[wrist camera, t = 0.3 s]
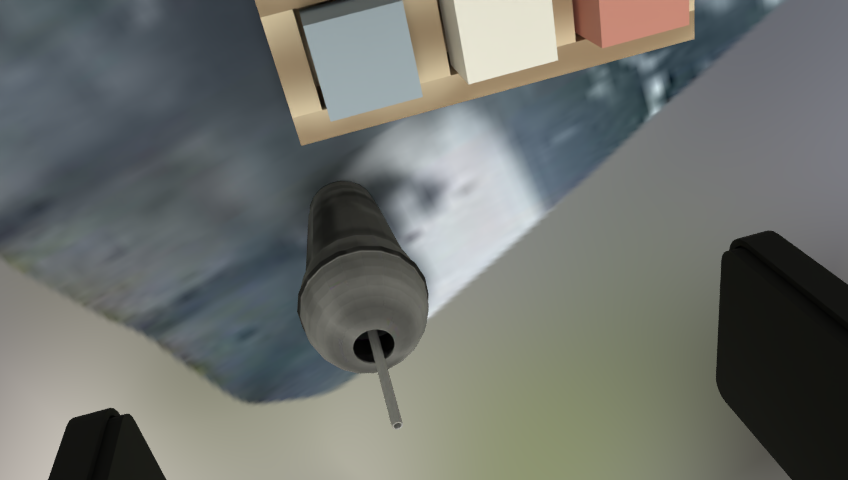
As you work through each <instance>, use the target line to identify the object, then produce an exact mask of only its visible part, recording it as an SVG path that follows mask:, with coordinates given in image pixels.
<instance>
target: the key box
mask: <svg viewBox="0 0 848 480" xmlns="http://www.w3.org/2000/svg"><path fill="white" fill-rule="evenodd" d="M332 1H336V0H255V2H256V6H257V9H258V12H259V15H260V18H261V21H262V24H263V27H264V31H265V34H266V37H267V40H268V43H269V46H270V49H271V52H272V56H273V59H274V62H275V65H276V68H277V71H278V74H279V77H280V81H281V84H282V87H283V90H284V93H285V96H286V99H287V102H288V105H289V109H290V112H291V115H292V118H293V121H294V124H295V127H296V130H297V134H298V137H299V140H300V143H301V146H302V145H306V144H309V143H313V142H317V141H321V140H324V139H328V138H332V137H335V136H339V135H343V134H346V133H350V132H354V131H357V130H361V129H365V128H368V127H372V126H376V125H379V124H383V123H387V122H390V121H394V120H398V119H401V118H405V117H409V116H412V115H416V114H420V113H424V112H427V111H431V110H435V109H438V108H442V107H446V106H449V105H453V104H457V103H460V102H464V101H468V100H471V99H475V98H479V97H482V96H486V95H490V94H493V93H497V92H501V91H504V90H508V89H512V88H515V87H519V86H523V85H527V84H530V83H534V82H538V81H541V80H545V79H549V78H552V77H556V76H560V75H563V74H567V73H571V72H574V71H578V70H582V69H585V68H589V67H593V66H596V65H600V64H604V63H607V62H611V61H615V60H618V59H622V58H626V57H630V56H633V55H637V54H641V53H644V52H648V51H652V50H655V49H659V48H663V47H666V46H670V45H674V44H677V43H681V42H685V41H688V40H692V39H694V0H689V25H687V26H683V27H680V28H676V29H672V30H669V31H665V32H661V33H657V34H654V35H650V36H646V37H643V38H639V39H635V40H632V41H628V42H624V43H620V44H617V45H613V46H609V47H606V48H601V47H599V46H597V45H596V44H594V43H592V42H590V41H589V40H587V39H585V38H584V37H582V36H580V35H578V34H577V33H575V28H574V17H573V5H572V0H552V6H553V16H554V25H555V35H556V45H557V54H558V60H557V61H554V62H550V63H546V64H543V65H539V66H535V67H532V68H528V69H524V70H520V71H517V72H513V73H509V74H506V75H502V76H498V77H495V78H491V79H487V80H483V81H480V82H476V83H472V84H469V85H468V83H467V82H466V81H465V80H464V79H463V78H462V77H461V76H460V74H459V73H458V72H457V71H456V70H455V69H454V68H453V66H452V65H451V63H450V58H449V53H448V47H447V42H446V37H445V31H444V26H443V20H442V15H441V10H440V4H439V0H402V1H403V5H404V10H405V14H406V19H407V24H408V29H409V33H410V38H411V43H412V47H413V52H414V57H415V61H416V66H417V71H418V76H419V80H420V85H421V90H422V94H423V97H421V98H417V99H413V100H409V101H406V102H402V103H398V104H395V105H391V106H387V107H383V108H380V109H376V110H372V111H369V112H365V113H361V114H358V115H354V116H350V117H346V118H343V119H339V120H335V121H332V122H331V121H330V118H329V114H328V111H327V107H326V104H325V101H324V97H323V94H322V90H321V87H320V83H319V80H318V76H317V73H316V70H315V66H314V63H313V59H312V56H311V52H310V49H309V45H308V42H307V39H306V35H305V32H304V28H303V25H302V21H301V17H300V12H299V10H301V9H304V8H308V7H312V6H316V5H320V4H324V3H328V2H332Z"/></svg>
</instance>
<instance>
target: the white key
mask: <svg viewBox="0 0 848 480" xmlns="http://www.w3.org/2000/svg"><path fill="white" fill-rule="evenodd" d="M439 4H440V10H441V15H442V20H443V26H444V31H445V37H446V42H447V47H448V53H449V58H450V63H451V65H452V66H453V68H454V69H455V70H456V71H457V72H458V73H459V74H460V76H461V77H462V78H463V79H464V80H465V81H466V82H467V83H468V85H469V84H472V83H476V82H480V81H483V80H487V79H491V78H495V77H498V76H502V75H506V74H509V73H513V72H517V71H520V70H524V69H528V68H532V67H535V66H539V65H543V64H546V63H550V62H554V61H557V60H558V54H557V45H556V35H555V25H554V16H553V6H552V0H439Z"/></svg>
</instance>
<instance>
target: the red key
mask: <svg viewBox="0 0 848 480" xmlns="http://www.w3.org/2000/svg"><path fill="white" fill-rule="evenodd" d="M572 5H573V17H574V28H575V33H577V34H578V35H580V36H582V37H584V38H585V39H587V40H589V41H590V42H592V43H594V44H596V45H597V46H599V47H601V48H606V47H609V46H613V45H617V44H620V43H624V42H628V41H632V40H635V39H639V38H643V37H646V36H650V35H654V34H657V33H661V32H665V31H669V30H672V29H676V28H680V27H683V26H687V25H689V0H572Z"/></svg>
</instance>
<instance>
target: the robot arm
mask: <svg viewBox="0 0 848 480" xmlns="http://www.w3.org/2000/svg"><path fill="white" fill-rule="evenodd" d="M716 382H717V386H718V389H719V392H720V394H721V396H722V397H723V399H724V400H725V402H726V403H727V404H728V405H729V406H730V408H731V409H732V410H733V411H734V412H735V414H737V416H738V417H739V418H740V419H741V421H742V422H743V423H744V424H745V425H746V426H747V428H748V429H749V430H750V431H751V432H752V433H753V434H754V436H755V437H756V438H757V439H758V440H759V442H760V443H761V444H762V445H763V446H764V448H765V449H766V450H767V451H768V452H769V453H770V455H771V456H772V457H773V458H774V459H775V460H776V461H777V463H778V464H779V465H780V466H781V467H782V469H783V470H784V471H785V472H786V473H787V475H788V476H789V477H790V478H791V479H792V480H848V284H846V283H845V282H843V281H842V280H841V279H839V278H838V277H837V276H835V275H834V274H832V273H831V272H830V271H828V270H827V269H826V268H824V267H823V266H822V265H820V264H819V263H817V262H816V261H814V260H813V259H812V258H811V257H809V256H808V255H806V254H805V253H804V252H802V251H801V250H799V249H798V248H797V247H795V246H794V245H793V244H791V243H790V242H788V241H787V240H786V239H784V238H783V237H782V236H780V235H779V234H777V233H775V232H774V231H764V232H761V233H757V234H753V235H750V236H746V237H742V238H739V239H736V240H734V241H733V242H732V243H731V245H730V249H729V251H726V252H724V254H723V256H722V260H721V282H720V304H719V325H718V346H717V367H716ZM48 480H166V478H165V476H164V475H163V473H162V471H161V469H160V467H159V465H158V463H157V461H156V460H155V458H154V456H153V454H152V452H151V450H150V448H149V447H148V444H147V443H146V441H145V439H144V437H143V436H142V433H141V431H140V429H139V428H138V426H137V424H136V422H135V420H134V419H133V417H132V416H131V415H130V414H124V415H120V414H119V413H118V411H116V410H115V409H114V408H109V409H105V410H101V411H97V412H93V413H90V414H86V415H82V416H78V417H75V418H72V419H71V420H70V421H69V423H68V424H67V426H66V429H65V432H64V435H63V438H62V441H61V444H60V447H59V450H58V453H57V455H56V458H55V461H54V464H53V467H52V470H51V473H50V476H49V479H48Z"/></svg>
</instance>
